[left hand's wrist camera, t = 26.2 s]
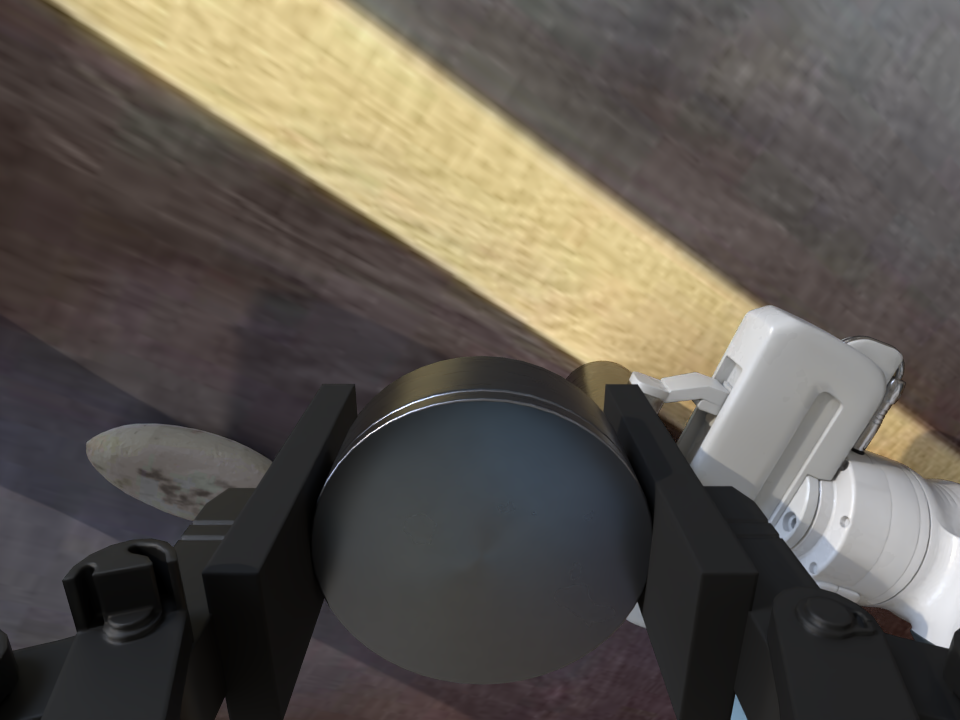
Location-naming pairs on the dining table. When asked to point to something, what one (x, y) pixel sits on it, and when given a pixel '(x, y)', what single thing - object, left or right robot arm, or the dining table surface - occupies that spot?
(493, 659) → the lid
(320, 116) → the dining table surface
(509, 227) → the dining table surface
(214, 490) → the decorative stone
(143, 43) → the dining table surface
